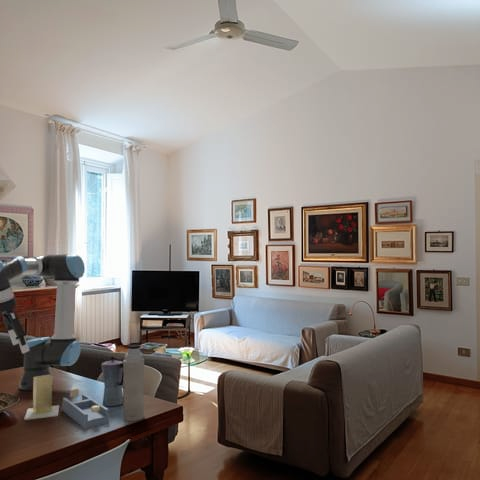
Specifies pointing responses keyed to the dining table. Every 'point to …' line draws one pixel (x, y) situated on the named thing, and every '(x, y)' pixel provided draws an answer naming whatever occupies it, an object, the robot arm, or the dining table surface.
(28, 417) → the white square mat
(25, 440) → the dining table surface
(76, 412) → the grey divided tray
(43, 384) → the tan cardboard box
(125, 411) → the thermos bottle
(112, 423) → the dining table surface
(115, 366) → the moka pot
